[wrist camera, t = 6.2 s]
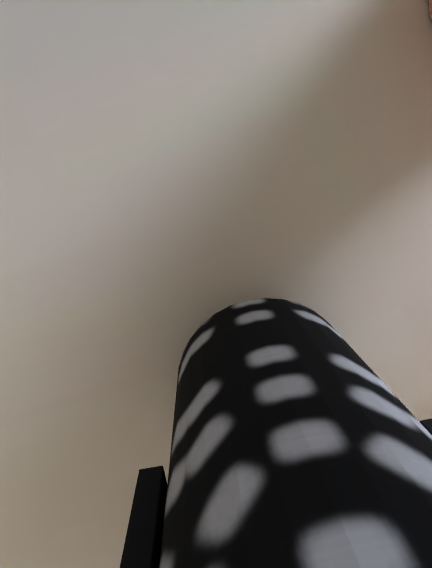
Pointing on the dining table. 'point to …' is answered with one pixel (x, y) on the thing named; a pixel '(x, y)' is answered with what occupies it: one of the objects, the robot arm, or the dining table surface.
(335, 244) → the dining table surface
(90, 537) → the dining table surface
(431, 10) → the pepper shaker
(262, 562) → the white-spotted black cylinder
